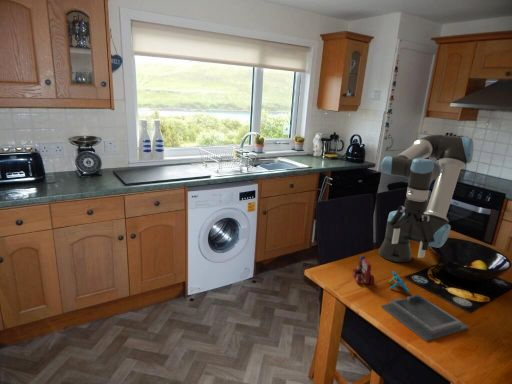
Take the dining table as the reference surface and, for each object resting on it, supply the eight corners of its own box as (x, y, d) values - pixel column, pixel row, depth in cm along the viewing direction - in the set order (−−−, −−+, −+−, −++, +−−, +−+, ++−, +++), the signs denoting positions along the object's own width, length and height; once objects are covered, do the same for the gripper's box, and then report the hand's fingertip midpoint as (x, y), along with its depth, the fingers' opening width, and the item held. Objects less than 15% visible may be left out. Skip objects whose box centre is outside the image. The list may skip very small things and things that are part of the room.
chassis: (420, 298, 135) (421, 291, 134) (468, 328, 117) (469, 321, 116) (381, 307, 127) (382, 300, 126) (426, 341, 109) (427, 333, 108)
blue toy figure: (414, 295, 134) (399, 277, 133) (401, 303, 136) (386, 285, 134) (405, 281, 145) (391, 264, 144) (393, 289, 146) (379, 272, 145)
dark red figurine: (366, 274, 152) (369, 252, 150) (374, 288, 140) (378, 265, 138) (350, 273, 152) (353, 251, 150) (358, 287, 140) (361, 264, 138)
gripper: (385, 191, 140) (378, 239, 145) (436, 209, 118) (425, 264, 123) (399, 190, 143) (391, 237, 148) (452, 207, 121) (440, 262, 126)
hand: (407, 250), depth 136 cm, fingers open, 13 cm apart
